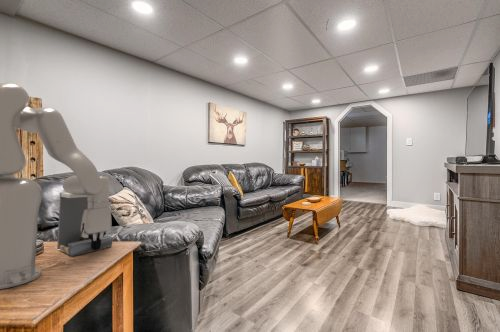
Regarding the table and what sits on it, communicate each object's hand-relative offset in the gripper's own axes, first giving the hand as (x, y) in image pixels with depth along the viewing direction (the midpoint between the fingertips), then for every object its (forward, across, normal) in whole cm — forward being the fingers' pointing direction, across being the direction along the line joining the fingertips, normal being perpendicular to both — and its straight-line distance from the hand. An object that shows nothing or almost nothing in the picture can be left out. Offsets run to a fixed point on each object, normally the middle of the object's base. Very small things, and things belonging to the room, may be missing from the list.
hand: (96, 249), depth 94 cm
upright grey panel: (+2, 0, -13) cm, 13 cm away
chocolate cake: (+2, 0, -10) cm, 10 cm away
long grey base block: (+1, 0, -9) cm, 9 cm away
